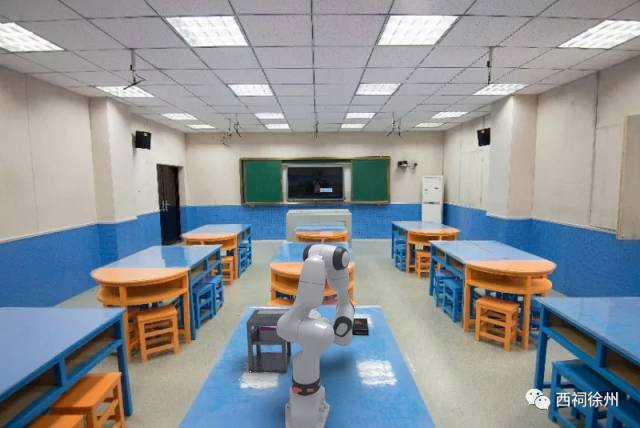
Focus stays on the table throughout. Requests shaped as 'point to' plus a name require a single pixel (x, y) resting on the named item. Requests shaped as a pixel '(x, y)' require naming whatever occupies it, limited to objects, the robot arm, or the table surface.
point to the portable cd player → (360, 327)
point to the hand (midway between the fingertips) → (298, 312)
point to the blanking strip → (271, 313)
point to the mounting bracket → (267, 328)
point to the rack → (266, 360)
